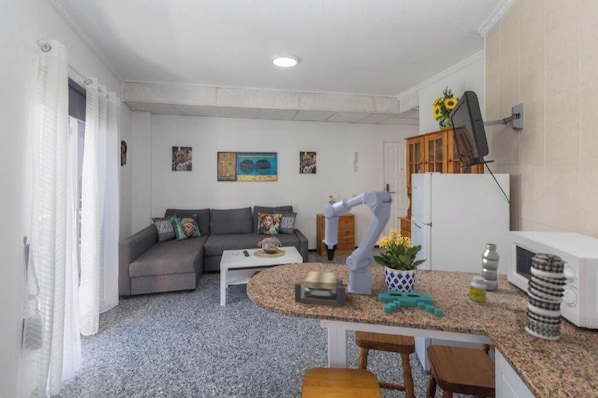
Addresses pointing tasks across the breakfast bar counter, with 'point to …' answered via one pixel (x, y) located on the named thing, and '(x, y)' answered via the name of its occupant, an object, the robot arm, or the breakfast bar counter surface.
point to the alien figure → (407, 301)
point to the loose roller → (320, 293)
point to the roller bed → (301, 298)
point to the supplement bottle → (477, 290)
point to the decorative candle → (545, 296)
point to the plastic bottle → (490, 267)
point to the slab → (321, 280)
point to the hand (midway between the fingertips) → (330, 260)
